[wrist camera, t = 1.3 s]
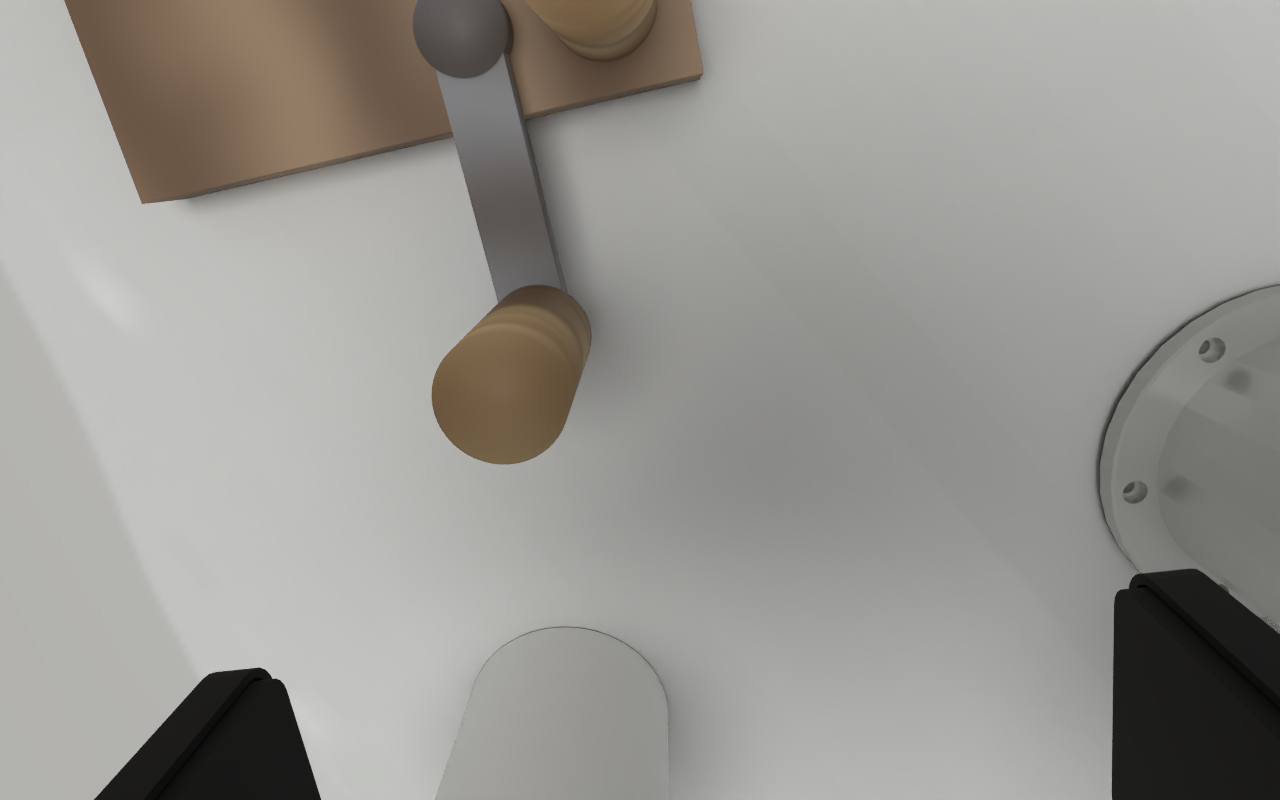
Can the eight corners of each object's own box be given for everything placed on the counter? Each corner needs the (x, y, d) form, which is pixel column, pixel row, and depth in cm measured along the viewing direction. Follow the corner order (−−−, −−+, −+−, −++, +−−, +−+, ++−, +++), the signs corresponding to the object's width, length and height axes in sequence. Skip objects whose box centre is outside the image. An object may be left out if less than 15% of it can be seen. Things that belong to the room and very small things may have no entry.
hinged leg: (403, -2, 24) (288, -68, 16) (509, -28, 24) (441, -108, 16) (509, 385, 27) (453, 475, 20) (603, 366, 27) (583, 450, 20)
